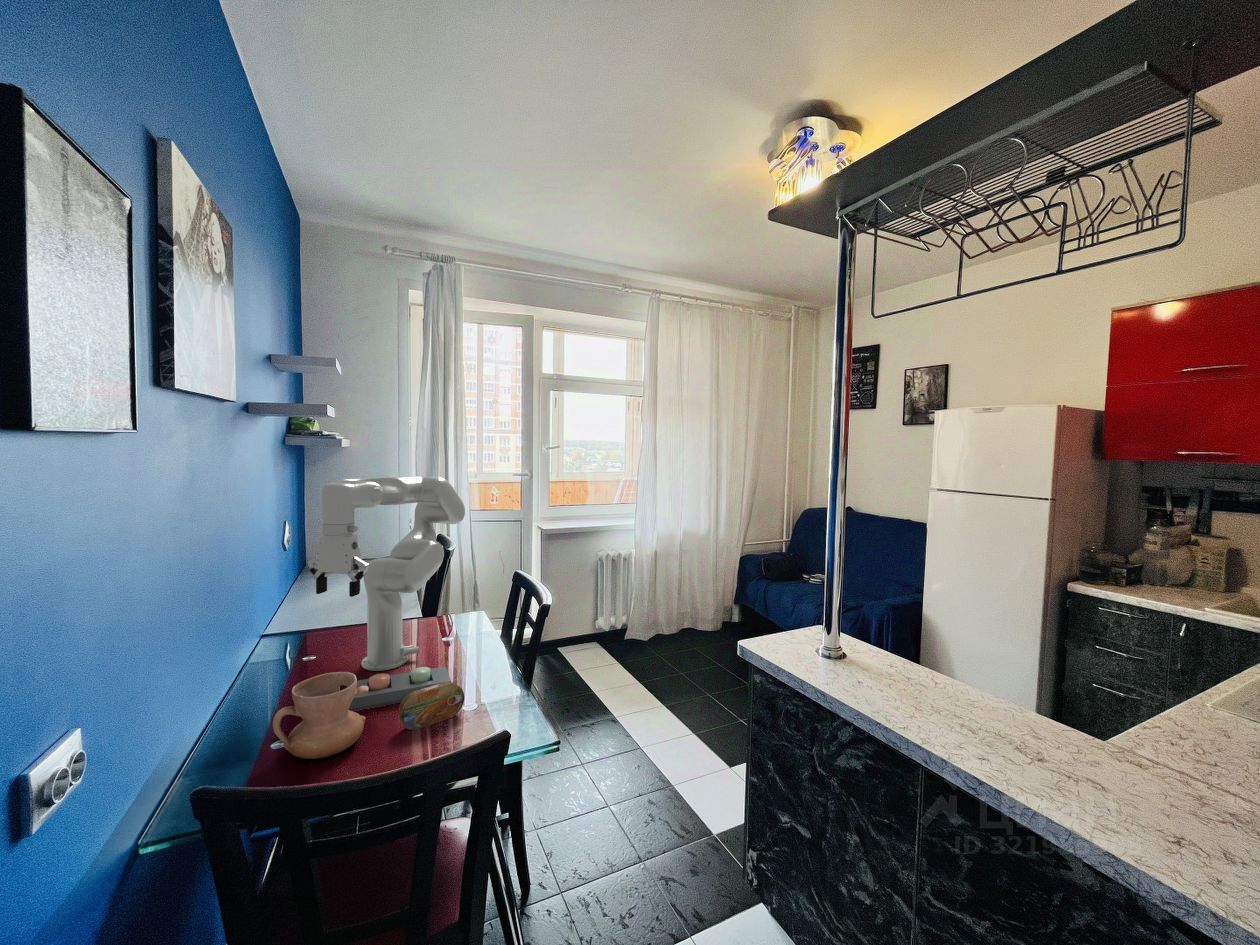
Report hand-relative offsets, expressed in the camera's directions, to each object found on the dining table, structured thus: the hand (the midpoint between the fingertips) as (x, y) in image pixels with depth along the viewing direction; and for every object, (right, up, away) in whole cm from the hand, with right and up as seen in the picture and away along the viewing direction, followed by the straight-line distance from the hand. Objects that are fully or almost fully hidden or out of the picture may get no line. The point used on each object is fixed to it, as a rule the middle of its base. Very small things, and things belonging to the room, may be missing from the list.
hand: (338, 594), depth 136 cm
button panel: (+17, -27, 0) cm, 31 cm away
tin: (+30, -28, -13) cm, 43 cm away
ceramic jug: (+10, -28, -24) cm, 38 cm away
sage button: (+21, -24, +2) cm, 32 cm away
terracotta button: (+12, -24, -3) cm, 27 cm away
